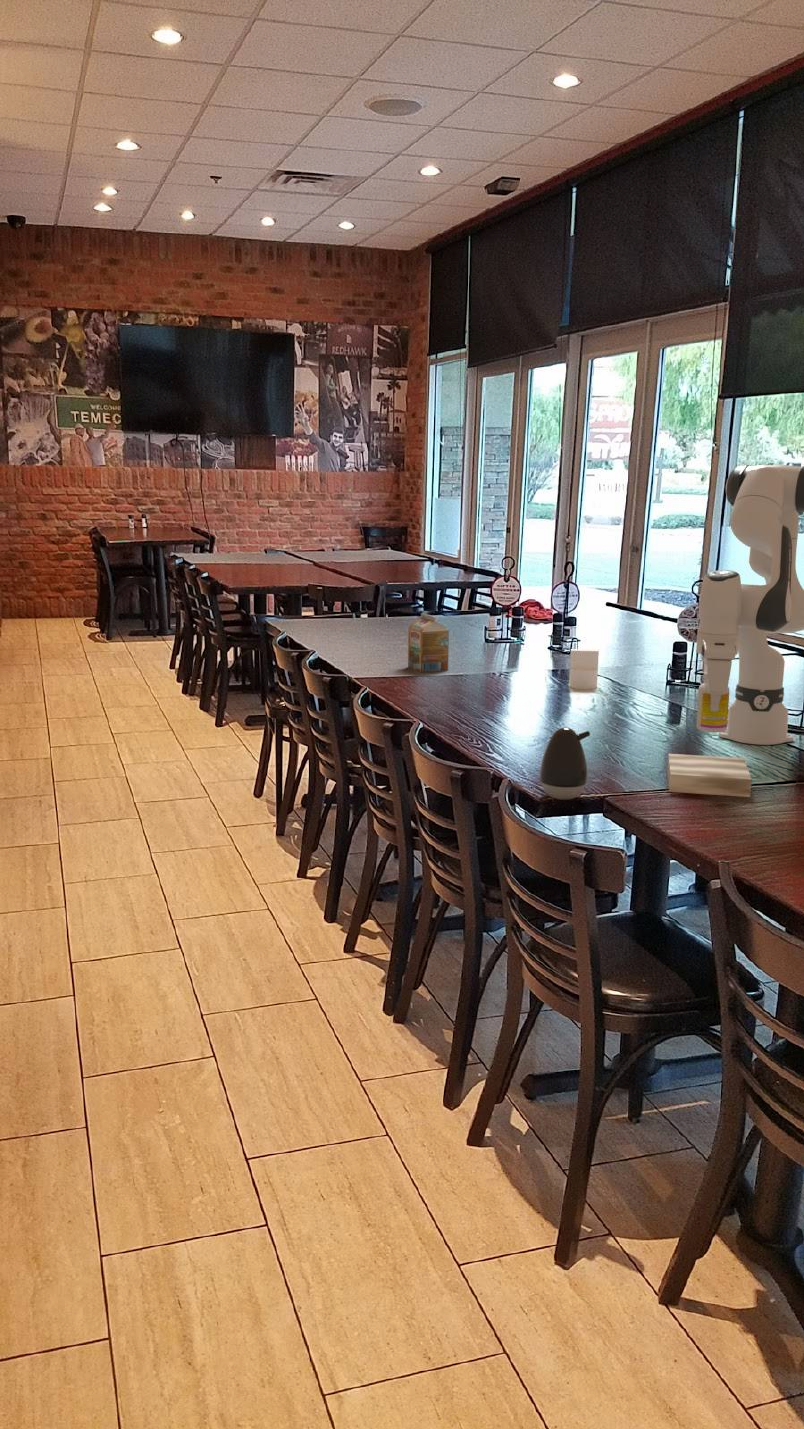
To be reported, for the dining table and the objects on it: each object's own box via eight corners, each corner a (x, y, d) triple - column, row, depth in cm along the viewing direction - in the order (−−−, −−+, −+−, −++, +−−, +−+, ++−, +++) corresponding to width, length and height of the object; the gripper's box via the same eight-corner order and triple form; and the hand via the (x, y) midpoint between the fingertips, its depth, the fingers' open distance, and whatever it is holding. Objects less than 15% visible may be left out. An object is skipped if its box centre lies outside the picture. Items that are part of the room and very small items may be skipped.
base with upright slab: (595, 684, 358) (597, 648, 355) (598, 689, 349) (599, 652, 347) (568, 683, 359) (569, 647, 356) (569, 688, 350) (571, 652, 347)
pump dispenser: (592, 803, 230) (596, 733, 226) (544, 803, 229) (547, 733, 226) (581, 789, 240) (584, 722, 236) (534, 789, 239) (537, 722, 236)
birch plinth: (667, 770, 256) (668, 753, 255) (742, 774, 252) (743, 758, 251) (669, 791, 238) (670, 774, 238) (750, 797, 235) (751, 779, 234)
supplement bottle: (732, 732, 240) (736, 675, 237) (703, 733, 239) (707, 676, 236) (718, 726, 246) (722, 670, 243) (691, 727, 245) (694, 670, 242)
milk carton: (408, 667, 386) (408, 613, 382) (434, 665, 390) (435, 612, 386) (421, 672, 376) (421, 617, 372) (448, 670, 381) (449, 616, 377)
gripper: (699, 638, 249) (695, 697, 252) (705, 651, 229) (700, 715, 232) (728, 639, 248) (724, 698, 251) (736, 653, 228) (731, 717, 231)
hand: (713, 707), depth 241 cm, fingers closed on supplement bottle, 7 cm apart
